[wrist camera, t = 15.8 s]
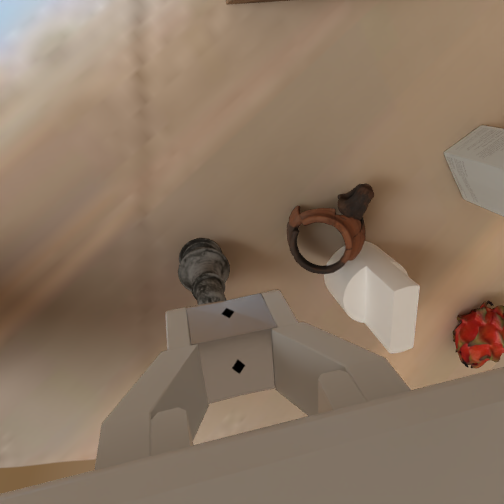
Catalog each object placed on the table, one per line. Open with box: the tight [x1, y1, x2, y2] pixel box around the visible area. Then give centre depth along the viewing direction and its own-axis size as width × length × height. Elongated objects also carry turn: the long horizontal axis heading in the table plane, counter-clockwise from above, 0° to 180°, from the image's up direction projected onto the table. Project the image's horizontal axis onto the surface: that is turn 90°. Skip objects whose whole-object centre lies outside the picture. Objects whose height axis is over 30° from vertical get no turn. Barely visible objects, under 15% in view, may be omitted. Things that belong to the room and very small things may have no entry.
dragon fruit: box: [453, 301, 504, 368], centre depth 60 cm, size 8×8×12 cm
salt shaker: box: [178, 238, 230, 305], centre depth 42 cm, size 6×6×12 cm
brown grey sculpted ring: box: [287, 184, 374, 274], centre depth 46 cm, size 12×10×8 cm
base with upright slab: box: [324, 241, 420, 354], centre depth 48 cm, size 9×9×12 cm
